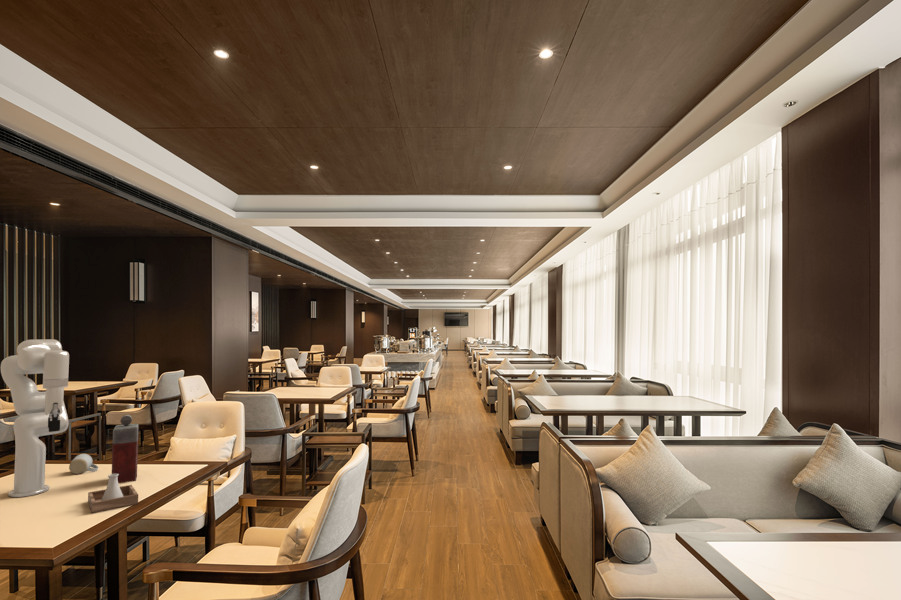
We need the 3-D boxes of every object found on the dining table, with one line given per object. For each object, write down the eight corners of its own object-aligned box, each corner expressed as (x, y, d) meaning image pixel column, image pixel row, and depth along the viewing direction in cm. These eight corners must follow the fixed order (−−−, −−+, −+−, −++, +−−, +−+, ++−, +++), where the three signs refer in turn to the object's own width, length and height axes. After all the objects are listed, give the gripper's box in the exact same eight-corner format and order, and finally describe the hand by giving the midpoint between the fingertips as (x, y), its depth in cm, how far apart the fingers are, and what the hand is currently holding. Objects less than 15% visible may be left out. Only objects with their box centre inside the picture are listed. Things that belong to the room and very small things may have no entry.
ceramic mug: (67, 475, 222) (68, 458, 223) (72, 471, 230) (73, 454, 230) (95, 473, 227) (96, 456, 227) (99, 468, 234) (100, 452, 235)
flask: (112, 505, 182) (112, 478, 183) (95, 504, 184) (96, 477, 184) (128, 498, 189) (129, 472, 190) (112, 497, 191) (113, 471, 191)
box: (87, 501, 188) (88, 492, 188) (131, 493, 197) (131, 484, 197) (92, 513, 176) (92, 503, 176) (138, 504, 185) (138, 494, 185)
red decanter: (137, 474, 223) (139, 412, 225) (135, 480, 214) (137, 415, 215) (113, 477, 219) (115, 414, 221) (111, 484, 209) (113, 417, 211)
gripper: (42, 382, 190) (40, 427, 189) (43, 386, 177) (41, 434, 176) (66, 381, 195) (64, 424, 194) (69, 384, 182) (67, 431, 181)
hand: (53, 429), depth 185 cm, fingers open, 9 cm apart
